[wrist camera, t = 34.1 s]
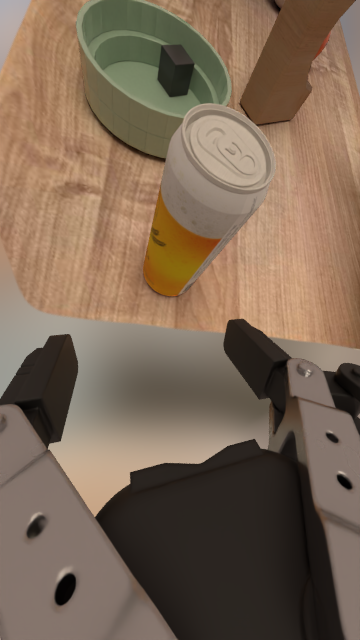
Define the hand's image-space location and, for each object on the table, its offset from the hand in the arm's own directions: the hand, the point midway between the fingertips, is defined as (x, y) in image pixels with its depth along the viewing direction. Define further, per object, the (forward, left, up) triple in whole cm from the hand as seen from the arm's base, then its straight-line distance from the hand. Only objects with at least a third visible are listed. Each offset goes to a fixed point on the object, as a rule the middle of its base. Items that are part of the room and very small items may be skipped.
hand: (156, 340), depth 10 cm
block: (+20, +36, -11) cm, 43 cm away
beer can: (+7, +7, -12) cm, 15 cm away
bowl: (+16, +33, -11) cm, 38 cm away
